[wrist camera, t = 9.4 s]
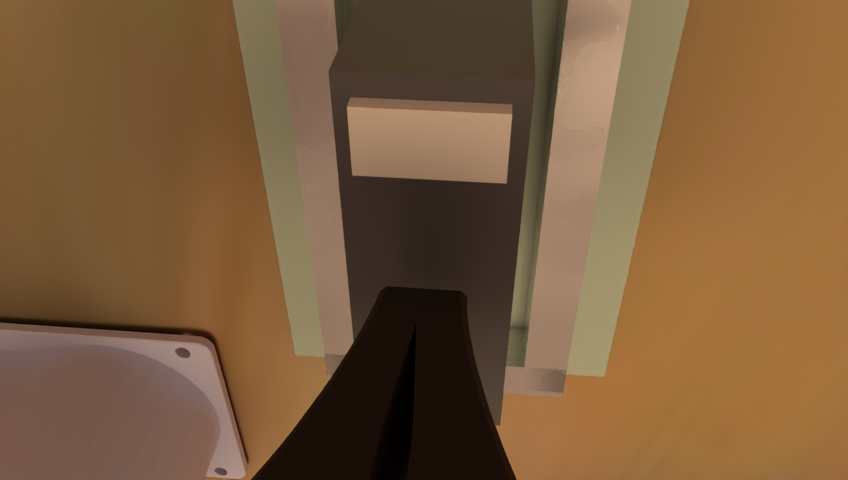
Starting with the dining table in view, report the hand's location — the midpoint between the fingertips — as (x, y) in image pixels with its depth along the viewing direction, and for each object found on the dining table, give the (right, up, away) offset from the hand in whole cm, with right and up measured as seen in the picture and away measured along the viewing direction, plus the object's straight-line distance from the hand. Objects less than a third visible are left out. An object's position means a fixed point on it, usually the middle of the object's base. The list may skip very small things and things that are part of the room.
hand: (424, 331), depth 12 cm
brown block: (+1, +5, +5) cm, 7 cm away
